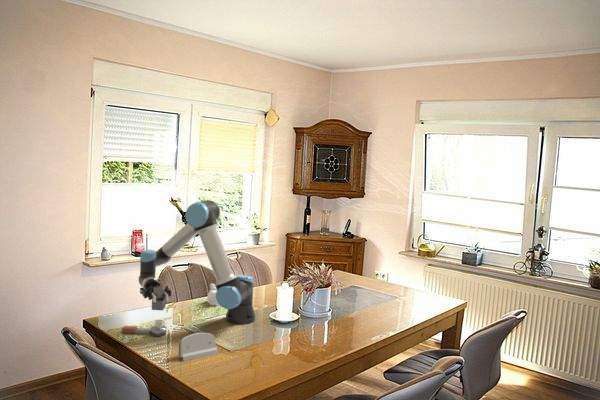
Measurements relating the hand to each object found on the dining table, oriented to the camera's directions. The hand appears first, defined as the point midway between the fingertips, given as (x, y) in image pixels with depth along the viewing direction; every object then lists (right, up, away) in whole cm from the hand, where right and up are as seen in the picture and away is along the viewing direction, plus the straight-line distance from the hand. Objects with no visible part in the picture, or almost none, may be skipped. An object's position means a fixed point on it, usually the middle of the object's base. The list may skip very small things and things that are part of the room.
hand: (161, 299), depth 239 cm
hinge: (+19, -21, -15) cm, 32 cm away
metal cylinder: (-3, -5, +5) cm, 8 cm away
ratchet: (-9, -17, +6) cm, 20 cm away
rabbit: (+15, -14, +57) cm, 60 cm away
